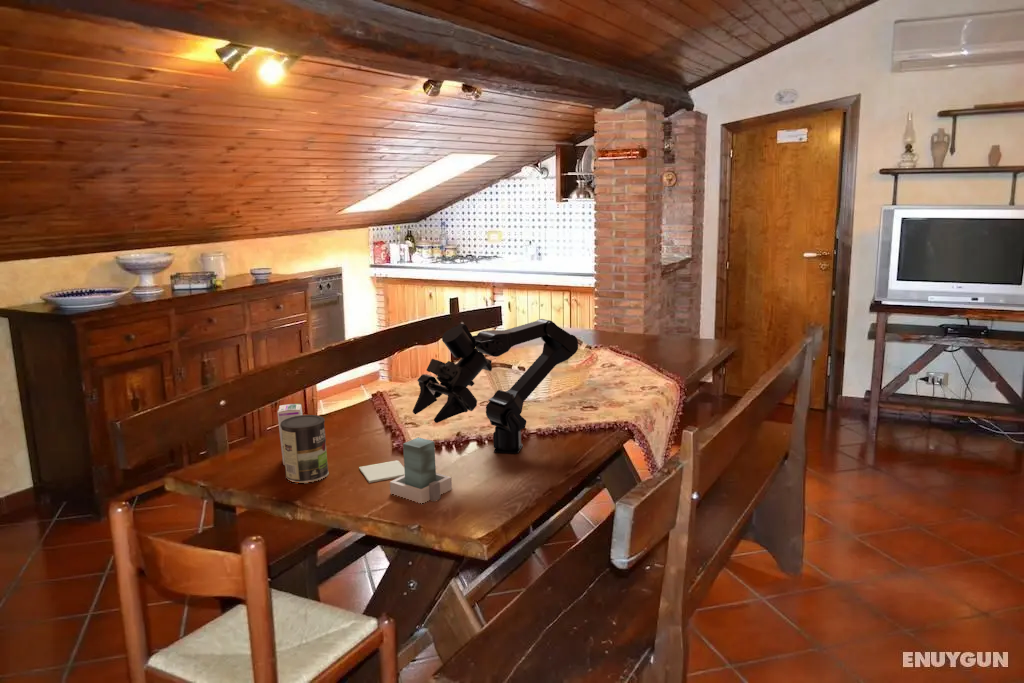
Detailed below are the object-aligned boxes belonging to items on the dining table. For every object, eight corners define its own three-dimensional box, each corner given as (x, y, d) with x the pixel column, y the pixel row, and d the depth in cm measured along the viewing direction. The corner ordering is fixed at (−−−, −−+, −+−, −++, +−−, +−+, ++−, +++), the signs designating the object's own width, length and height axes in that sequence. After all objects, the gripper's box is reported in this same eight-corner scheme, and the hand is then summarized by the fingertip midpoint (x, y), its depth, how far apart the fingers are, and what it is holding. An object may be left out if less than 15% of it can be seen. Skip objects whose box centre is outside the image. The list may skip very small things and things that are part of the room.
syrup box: (306, 463, 202) (301, 409, 198) (282, 465, 200) (277, 411, 197) (307, 455, 207) (302, 402, 204) (283, 457, 206) (278, 404, 203)
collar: (420, 479, 189) (419, 464, 188) (456, 490, 182) (455, 474, 181) (390, 494, 181) (389, 477, 180) (426, 505, 174) (425, 488, 174)
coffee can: (335, 468, 198) (331, 414, 194) (318, 485, 188) (313, 428, 185) (296, 467, 199) (291, 413, 196) (278, 483, 189) (272, 427, 186)
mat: (397, 461, 201) (397, 460, 201) (409, 475, 192) (409, 473, 192) (359, 468, 197) (359, 467, 197) (369, 482, 188) (369, 480, 188)
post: (420, 485, 186) (418, 437, 183) (436, 490, 183) (434, 441, 180) (405, 492, 182) (402, 443, 179) (421, 497, 179) (418, 447, 176)
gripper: (427, 342, 197) (385, 387, 192) (471, 354, 183) (427, 403, 177) (450, 372, 203) (410, 416, 198) (495, 386, 189) (453, 434, 183)
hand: (424, 417), depth 189 cm, fingers open, 9 cm apart
